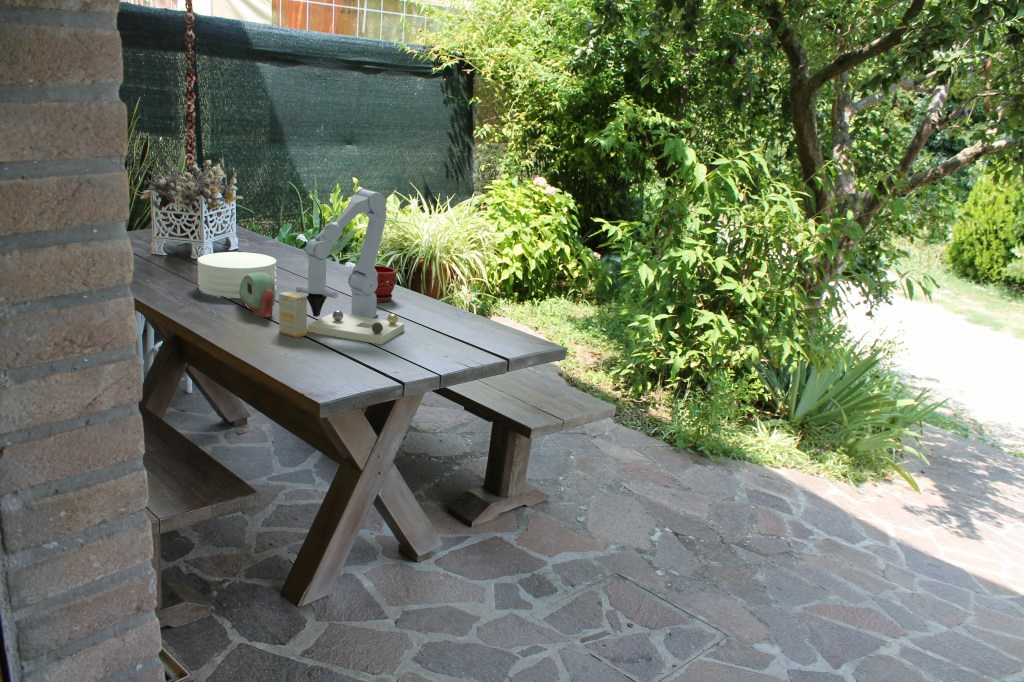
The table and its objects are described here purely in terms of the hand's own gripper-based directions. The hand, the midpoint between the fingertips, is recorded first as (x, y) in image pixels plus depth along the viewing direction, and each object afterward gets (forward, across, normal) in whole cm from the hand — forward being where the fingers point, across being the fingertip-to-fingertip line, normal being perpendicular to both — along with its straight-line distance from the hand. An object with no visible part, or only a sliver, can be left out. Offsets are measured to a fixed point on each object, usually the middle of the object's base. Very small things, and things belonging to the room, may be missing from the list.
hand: (316, 315), depth 286 cm
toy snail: (+3, -24, +4) cm, 25 cm away
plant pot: (+3, +3, +42) cm, 42 cm away
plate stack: (+3, -47, +26) cm, 54 cm away
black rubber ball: (-1, +25, -6) cm, 26 cm away
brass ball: (-1, +25, +6) cm, 26 cm away
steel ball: (-1, +8, 0) cm, 8 cm away
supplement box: (+3, -1, -13) cm, 14 cm away
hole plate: (+3, +15, 0) cm, 15 cm away
